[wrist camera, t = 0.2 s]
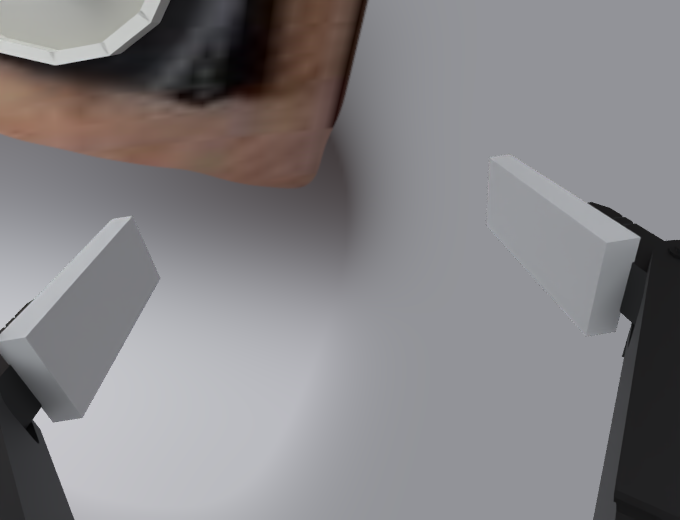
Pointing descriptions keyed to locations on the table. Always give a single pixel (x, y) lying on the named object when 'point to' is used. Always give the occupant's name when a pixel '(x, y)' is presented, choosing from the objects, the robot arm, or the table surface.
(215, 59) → the table surface
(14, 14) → the ring tray
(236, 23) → the table surface
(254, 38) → the table surface
